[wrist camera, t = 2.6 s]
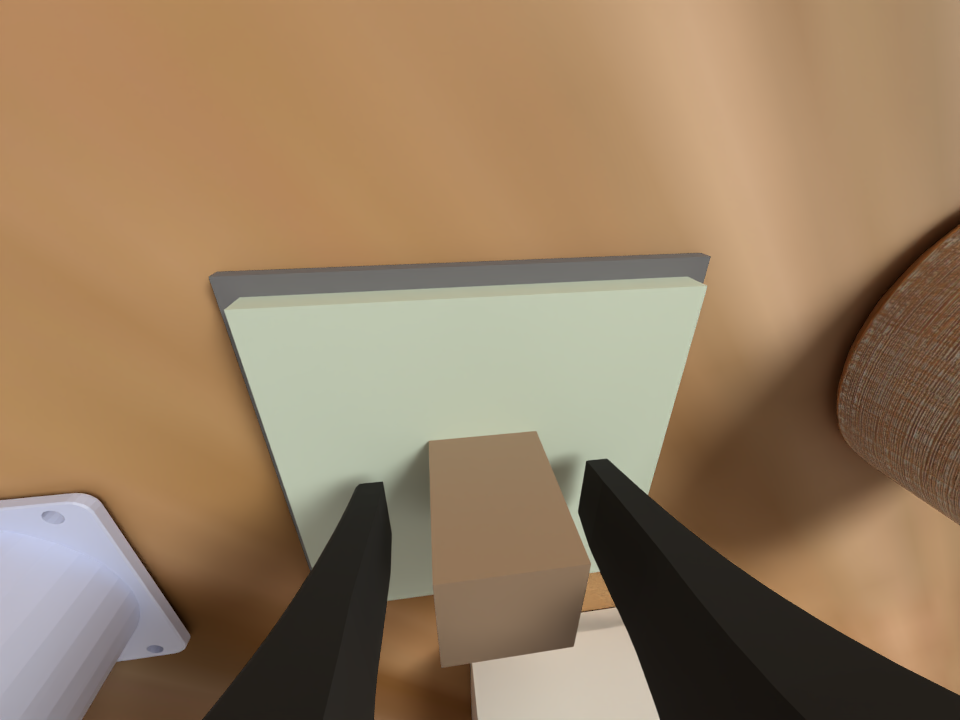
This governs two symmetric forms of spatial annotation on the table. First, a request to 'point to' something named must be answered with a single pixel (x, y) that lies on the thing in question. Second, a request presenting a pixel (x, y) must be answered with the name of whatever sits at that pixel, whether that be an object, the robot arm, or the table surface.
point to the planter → (910, 381)
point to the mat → (440, 285)
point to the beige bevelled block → (568, 679)
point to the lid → (470, 431)
